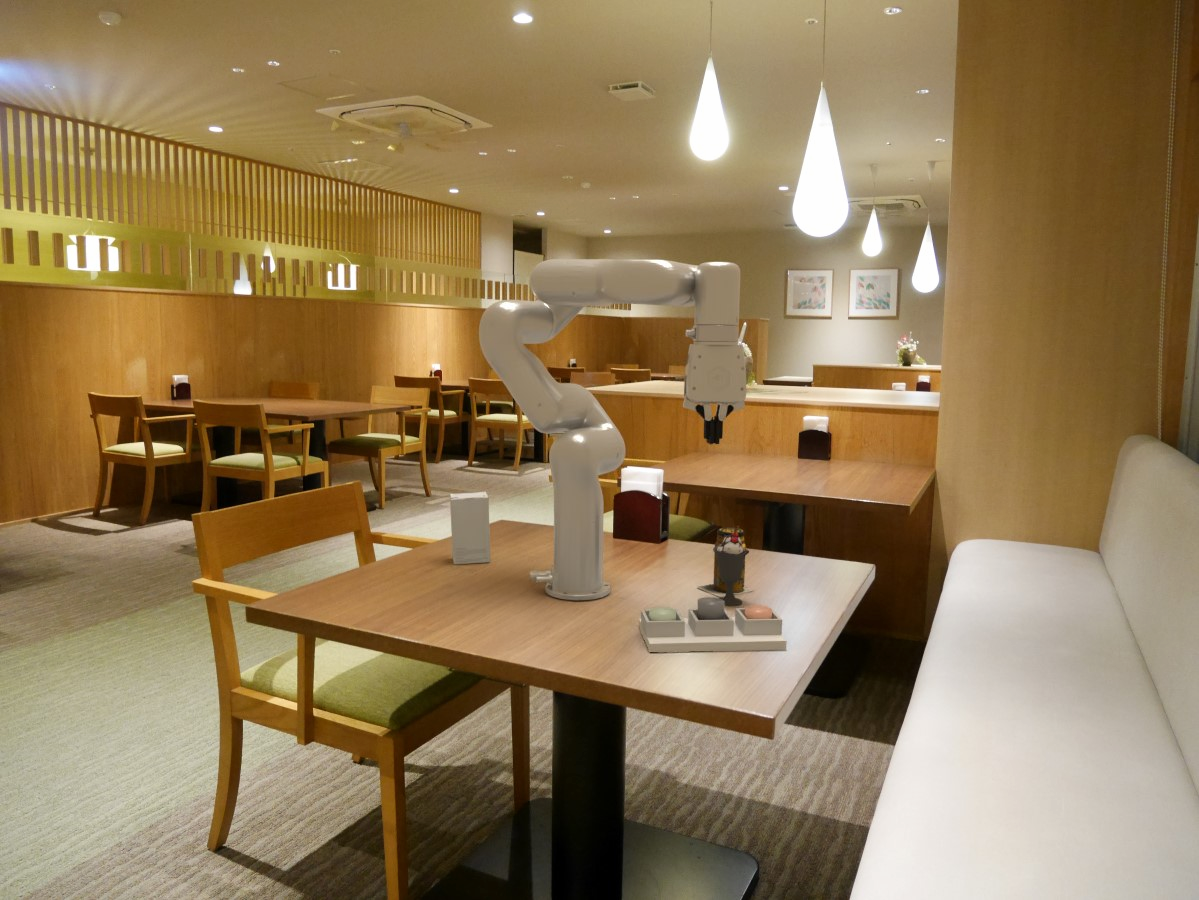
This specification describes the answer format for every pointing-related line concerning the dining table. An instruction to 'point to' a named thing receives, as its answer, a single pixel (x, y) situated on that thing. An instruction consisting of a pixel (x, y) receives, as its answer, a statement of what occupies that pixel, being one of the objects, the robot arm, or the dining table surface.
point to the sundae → (731, 565)
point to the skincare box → (470, 528)
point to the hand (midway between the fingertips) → (712, 442)
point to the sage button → (662, 614)
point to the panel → (712, 633)
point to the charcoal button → (710, 608)
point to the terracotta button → (758, 612)
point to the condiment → (719, 586)
